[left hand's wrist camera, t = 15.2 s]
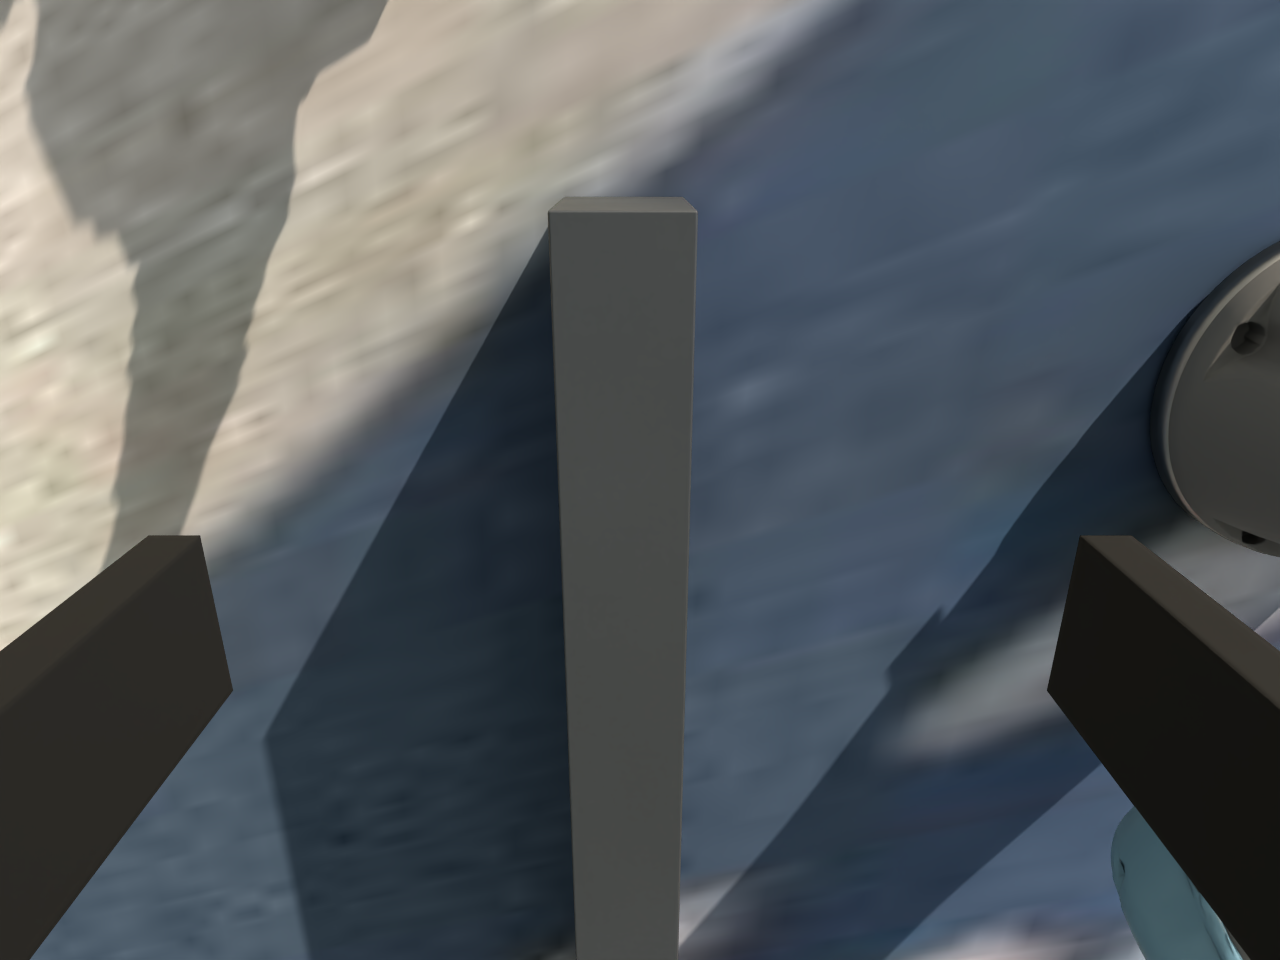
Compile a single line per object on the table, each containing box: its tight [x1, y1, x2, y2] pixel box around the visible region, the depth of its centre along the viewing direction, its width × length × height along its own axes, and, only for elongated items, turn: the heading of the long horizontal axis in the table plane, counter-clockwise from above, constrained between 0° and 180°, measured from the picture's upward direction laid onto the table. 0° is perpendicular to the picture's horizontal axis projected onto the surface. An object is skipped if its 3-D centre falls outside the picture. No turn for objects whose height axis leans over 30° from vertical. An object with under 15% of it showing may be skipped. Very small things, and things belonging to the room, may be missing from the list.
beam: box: [548, 197, 698, 960], centre depth 43 cm, size 62×5×8 cm, turn 0°
